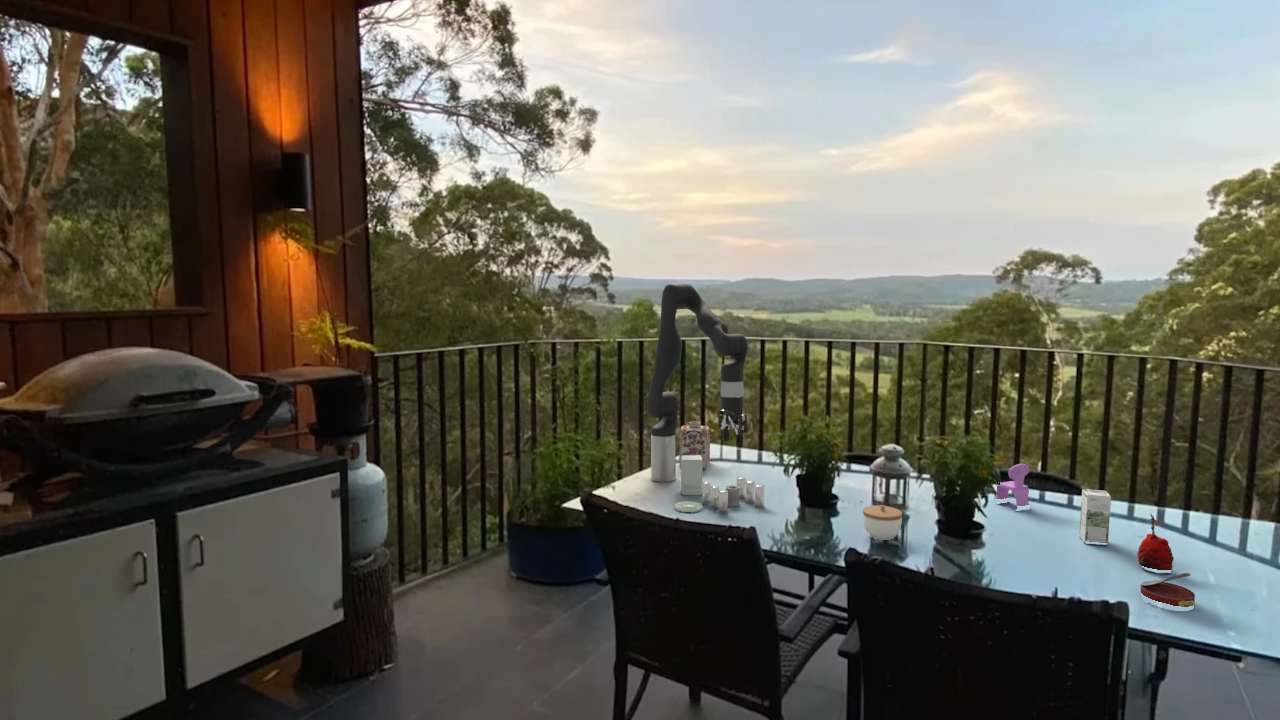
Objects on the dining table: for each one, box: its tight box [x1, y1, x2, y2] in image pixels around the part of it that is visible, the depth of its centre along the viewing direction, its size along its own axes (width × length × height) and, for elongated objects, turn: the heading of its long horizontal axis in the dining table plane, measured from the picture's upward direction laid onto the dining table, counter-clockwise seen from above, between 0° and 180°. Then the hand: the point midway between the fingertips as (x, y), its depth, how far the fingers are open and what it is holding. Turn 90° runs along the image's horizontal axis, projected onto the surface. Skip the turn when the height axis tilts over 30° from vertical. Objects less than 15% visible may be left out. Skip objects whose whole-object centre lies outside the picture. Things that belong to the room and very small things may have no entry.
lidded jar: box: [862, 504, 903, 541], centre depth 201 cm, size 11×11×9 cm
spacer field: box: [700, 476, 765, 515], centre depth 233 cm, size 14×17×7 cm
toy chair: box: [996, 463, 1030, 507], centre depth 228 cm, size 8×9×15 cm
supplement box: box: [680, 455, 703, 496], centre depth 248 cm, size 7×7×13 cm
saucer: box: [674, 501, 703, 514], centre depth 230 cm, size 9×9×1 cm
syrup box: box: [1078, 488, 1112, 544], centre depth 196 cm, size 6×6×14 cm
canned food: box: [1140, 572, 1196, 607], centre depth 158 cm, size 11×10×10 cm
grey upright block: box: [725, 484, 740, 508], centre depth 233 cm, size 4×5×6 cm
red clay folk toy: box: [1137, 513, 1174, 571], centre depth 176 cm, size 8×7×15 cm
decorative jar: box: [678, 421, 711, 470], centre depth 286 cm, size 12×12×18 cm
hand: (732, 443), depth 231 cm, fingers open, 8 cm apart
